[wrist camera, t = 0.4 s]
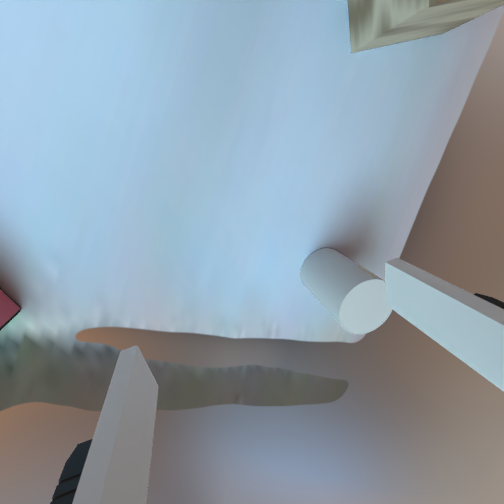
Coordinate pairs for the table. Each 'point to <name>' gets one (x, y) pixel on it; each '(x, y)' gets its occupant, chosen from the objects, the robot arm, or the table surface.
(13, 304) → the puzzle cube
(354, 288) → the cup
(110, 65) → the table surface
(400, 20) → the cabinet
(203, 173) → the table surface
